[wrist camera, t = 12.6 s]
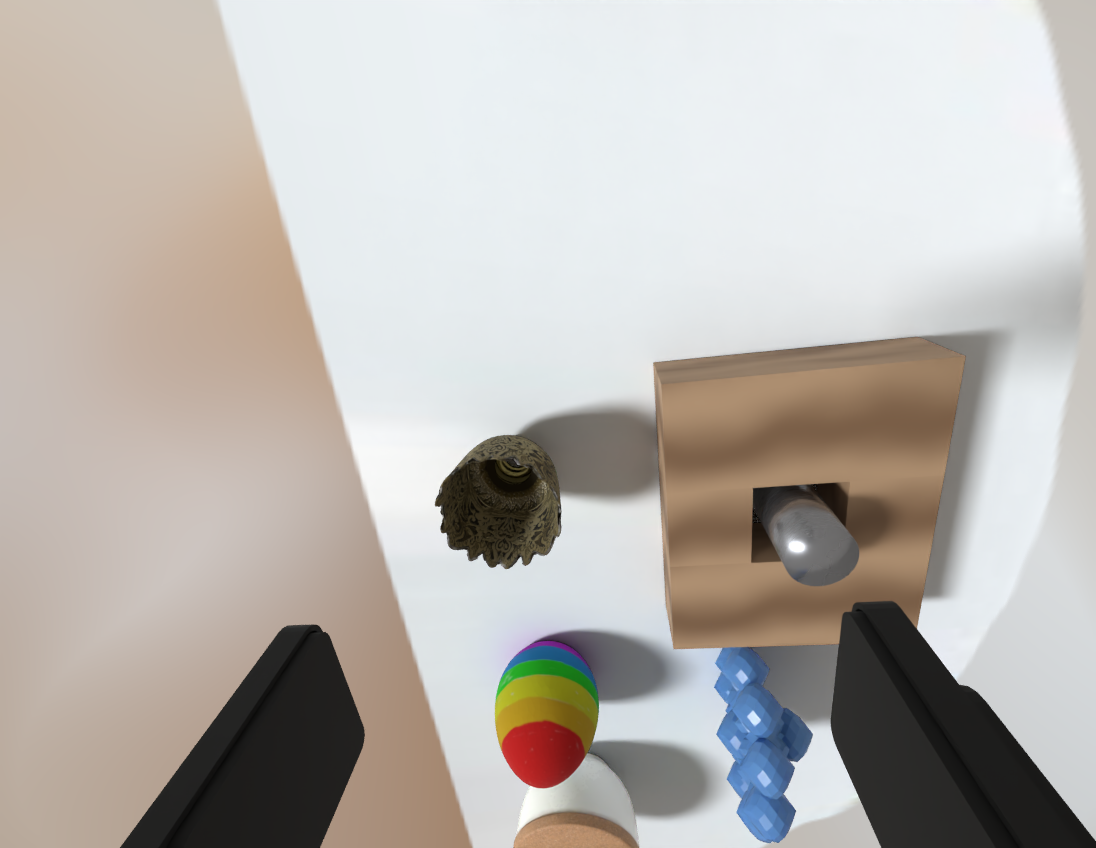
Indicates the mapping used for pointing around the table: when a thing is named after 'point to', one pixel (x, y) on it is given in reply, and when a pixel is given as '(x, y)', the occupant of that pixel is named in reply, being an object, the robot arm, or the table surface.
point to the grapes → (759, 743)
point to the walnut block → (799, 481)
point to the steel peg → (806, 534)
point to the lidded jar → (579, 812)
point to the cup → (502, 502)
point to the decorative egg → (546, 713)
